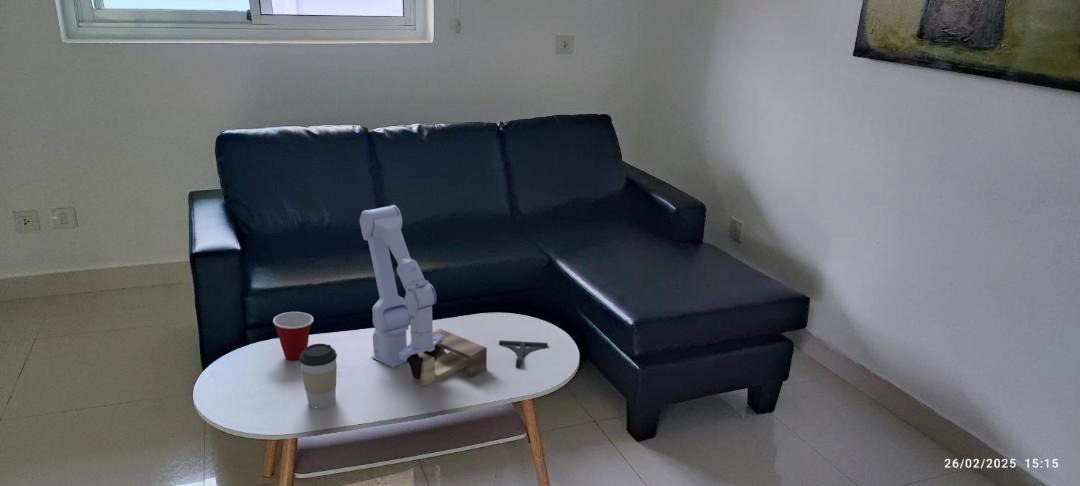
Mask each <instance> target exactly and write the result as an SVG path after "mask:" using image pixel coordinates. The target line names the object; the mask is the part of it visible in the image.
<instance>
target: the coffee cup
mask: <svg viewBox="0 0 1080 486" xmlns="http://www.w3.org/2000/svg"><path fill="white" fill-rule="evenodd" d="M337 358H338V354H337V352H336V349H335V348H333V347H332V346H331V344H327V343H313V344H311V345H308V346H307V347H306V348H305V350H304V351H303V352H302V353H301V355H300V358H299V362H300V366H301V367H300V370H301V375H302V376H301V377H302V379H303V386H304V390H305V393H306V398H307V403H309V404H308V405H309V406H310V407H311V406H313V407H312V408H314V407H317V408H316V409H323V408H322V407H325V408H327V406H328V407H330V406H333V405H334V403H335V402H336V395H337V394H336V393H337V392H336V391H337V369H338V364H337V363H338V362H337ZM320 407H321V408H320Z"/></svg>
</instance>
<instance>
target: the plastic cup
mask: <svg viewBox="0 0 1080 486" xmlns="http://www.w3.org/2000/svg"><path fill="white" fill-rule="evenodd" d="M272 323H273V324H274V326H275V328H276V329H275V330H276V332H277V336H278V340H279V342H280V346H281V350H282V351H283V355H284V358H285V360H287V361H290V362H298V360H299V358H300V355H301V353H302V352H303V351H304V350H305V348H306V347H308V346H309V339H310V338H309V337H310V331H311V325H312V324H313V323H314V317H313V315H311V314H309V313H306V312H301V311H289V312H283V313H280V314H278V315H276V316H274V317H273V320H272Z"/></svg>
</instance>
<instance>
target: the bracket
mask: <svg viewBox="0 0 1080 486" xmlns="http://www.w3.org/2000/svg"><path fill="white" fill-rule="evenodd" d="M498 345H499V346H501V347H503V348H504V347H505V348H507V349H509V350H511V351H513V352H514V353H515V355H516V356H517V358H516V359H515V368H516V369H517V368H519V369H520V368H521V367H522V362H523V358H525V356H526V355H527V354H529V353H531V352H534V351H537V350H541V349H542V350H544V349H547V348H548V345H549V344H548V342H536V341H517V340H504V339H503V340H499V341H498ZM526 347H527V348H526Z"/></svg>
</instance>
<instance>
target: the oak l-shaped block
mask: <svg viewBox="0 0 1080 486" xmlns="http://www.w3.org/2000/svg"><path fill="white" fill-rule="evenodd" d="M418 355H419V357H421V358H423V361H422V365H421V377H420V379H416V378H414V377H413V374H412V371H411V370H410V375H411V376H410V377H411V379H410V380H411V382H415V383H417V384H418V385H421V386H423V387H426V386H427V385H429V384H431V383H433V382H440V381H442V380H444V379H445V378H447V377H449V376H452V375H453V374H454V373H457V372H458V371H460V370H462V369H464V368H467V358H465V357H462V356H460V355H458V354H455V353H453V352H450V351H449V352H447V353H445V354H444V355H441V356H440V357H437V359H436V361H435V357H433V356H430V355H428V354H426V353H424V352H421V353H418Z"/></svg>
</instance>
